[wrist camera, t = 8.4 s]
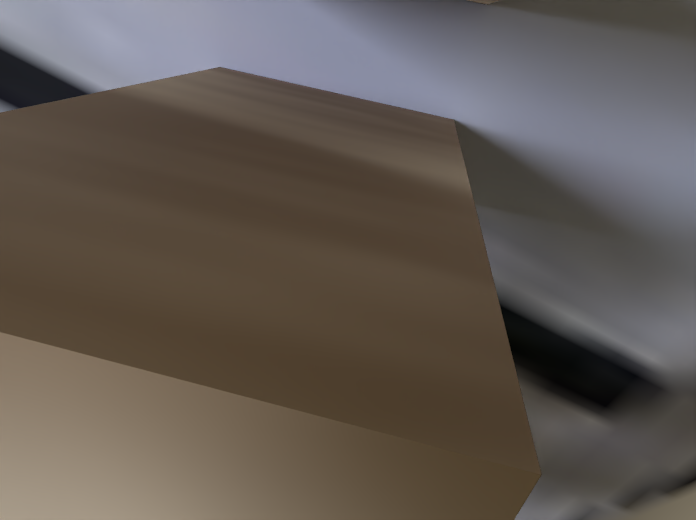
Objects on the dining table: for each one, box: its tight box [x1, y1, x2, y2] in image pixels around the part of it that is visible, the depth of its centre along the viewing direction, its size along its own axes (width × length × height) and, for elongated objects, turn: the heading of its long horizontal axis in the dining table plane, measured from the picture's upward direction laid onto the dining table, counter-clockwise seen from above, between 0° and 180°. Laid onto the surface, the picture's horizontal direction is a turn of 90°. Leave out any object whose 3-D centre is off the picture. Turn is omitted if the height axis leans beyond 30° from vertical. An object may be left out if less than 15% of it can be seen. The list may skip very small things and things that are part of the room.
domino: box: [0, 67, 542, 520], centre depth 7 cm, size 2×6×10 cm, turn 79°
